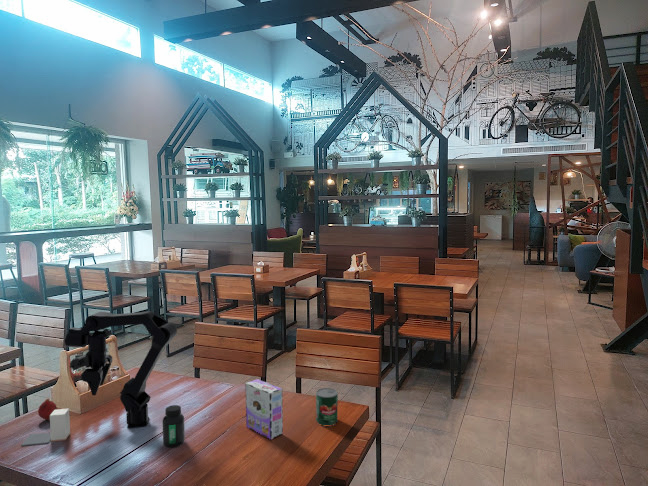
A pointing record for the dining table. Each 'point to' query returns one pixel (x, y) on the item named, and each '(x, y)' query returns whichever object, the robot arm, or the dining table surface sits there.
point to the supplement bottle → (173, 427)
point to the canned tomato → (326, 406)
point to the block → (59, 424)
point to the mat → (37, 439)
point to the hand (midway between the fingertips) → (97, 390)
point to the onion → (46, 409)
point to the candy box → (264, 408)
